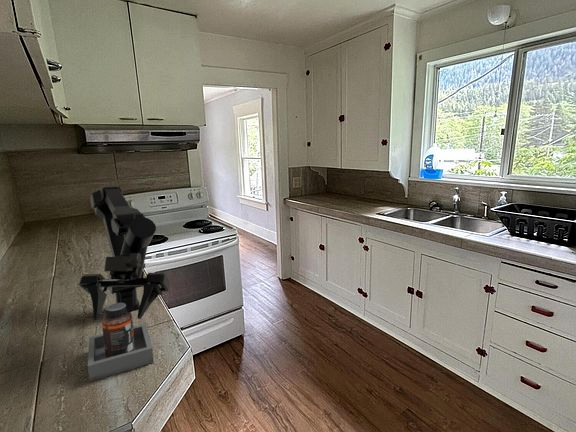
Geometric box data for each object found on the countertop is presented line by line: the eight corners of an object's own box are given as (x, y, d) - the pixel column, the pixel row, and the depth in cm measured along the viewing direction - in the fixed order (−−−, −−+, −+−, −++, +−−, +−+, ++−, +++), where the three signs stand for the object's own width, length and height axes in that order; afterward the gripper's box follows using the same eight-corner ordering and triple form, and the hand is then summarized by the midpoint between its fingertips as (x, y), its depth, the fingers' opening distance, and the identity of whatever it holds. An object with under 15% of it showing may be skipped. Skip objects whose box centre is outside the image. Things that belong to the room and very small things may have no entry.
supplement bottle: (139, 352, 71) (135, 306, 69) (111, 364, 67) (106, 315, 65) (128, 342, 75) (124, 298, 73) (101, 353, 71) (96, 306, 69)
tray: (90, 350, 73) (89, 337, 73) (146, 336, 79) (145, 323, 79) (89, 381, 63) (87, 366, 62) (153, 362, 69) (152, 348, 68)
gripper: (78, 241, 71) (53, 309, 62) (163, 239, 73) (150, 305, 64) (98, 262, 80) (79, 324, 71) (173, 261, 82) (164, 321, 73)
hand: (117, 319), depth 70 cm, fingers open, 9 cm apart
